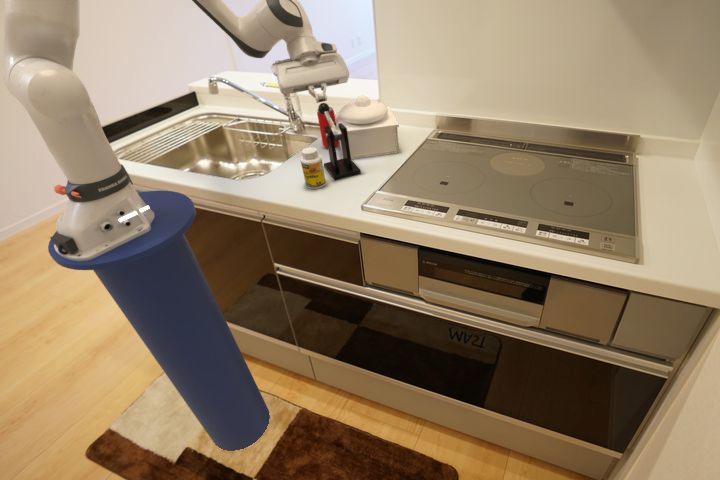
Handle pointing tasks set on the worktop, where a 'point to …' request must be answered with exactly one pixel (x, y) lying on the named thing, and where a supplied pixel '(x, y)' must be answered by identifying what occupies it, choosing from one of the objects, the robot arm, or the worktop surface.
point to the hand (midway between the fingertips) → (322, 100)
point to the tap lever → (330, 121)
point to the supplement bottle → (312, 168)
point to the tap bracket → (341, 166)
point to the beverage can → (324, 123)
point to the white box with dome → (369, 128)
